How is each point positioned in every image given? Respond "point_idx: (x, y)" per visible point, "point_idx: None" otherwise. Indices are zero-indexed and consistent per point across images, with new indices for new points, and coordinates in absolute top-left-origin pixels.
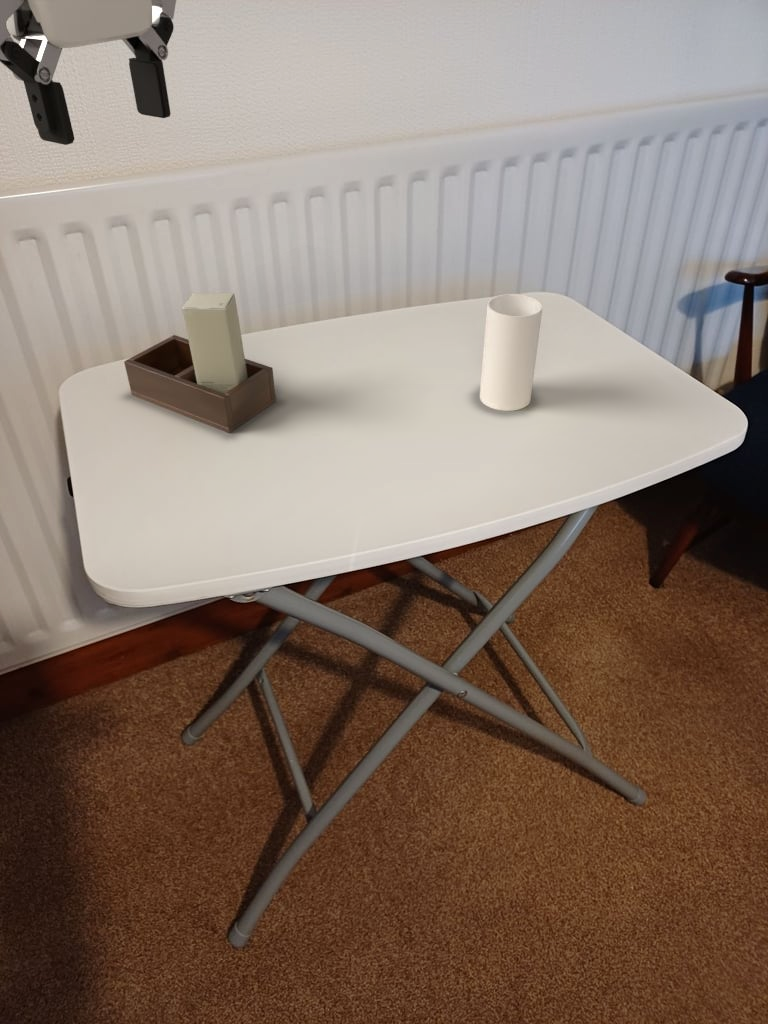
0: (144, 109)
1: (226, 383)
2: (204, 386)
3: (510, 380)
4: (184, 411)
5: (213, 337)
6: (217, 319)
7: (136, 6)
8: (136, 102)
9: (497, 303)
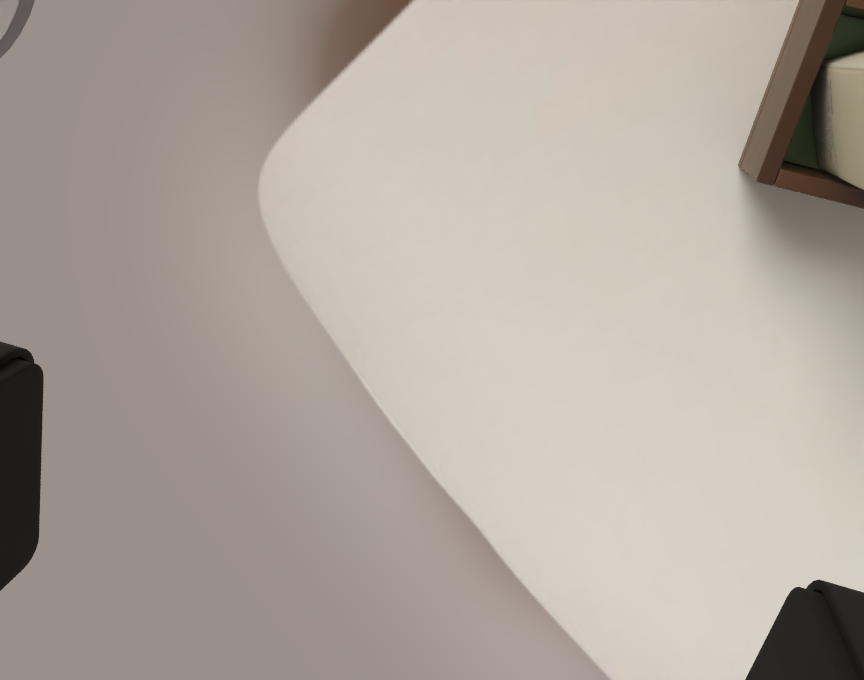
0: (772, 659)
1: (835, 149)
2: (827, 86)
3: None
4: (795, 19)
5: None
6: None
7: None
8: (815, 630)
9: None
